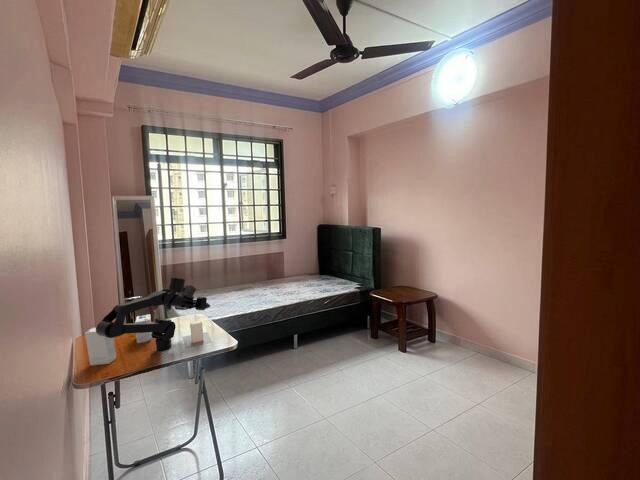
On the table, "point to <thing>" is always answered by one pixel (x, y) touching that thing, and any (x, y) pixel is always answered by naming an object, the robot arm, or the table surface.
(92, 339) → the skincare box
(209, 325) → the table surface
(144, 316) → the light bulb box
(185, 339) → the board
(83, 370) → the table surface
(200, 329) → the cream block
